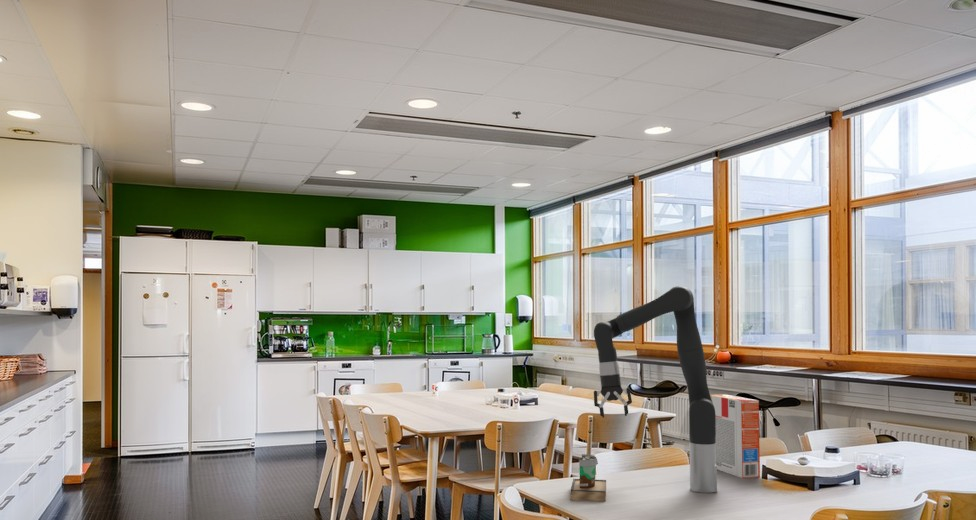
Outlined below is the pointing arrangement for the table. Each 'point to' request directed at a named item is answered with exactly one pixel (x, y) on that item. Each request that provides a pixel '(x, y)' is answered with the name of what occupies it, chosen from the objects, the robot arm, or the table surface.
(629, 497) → the table surface
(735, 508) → the table surface
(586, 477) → the food container
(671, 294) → the robot arm
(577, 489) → the dock
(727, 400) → the pasta box
